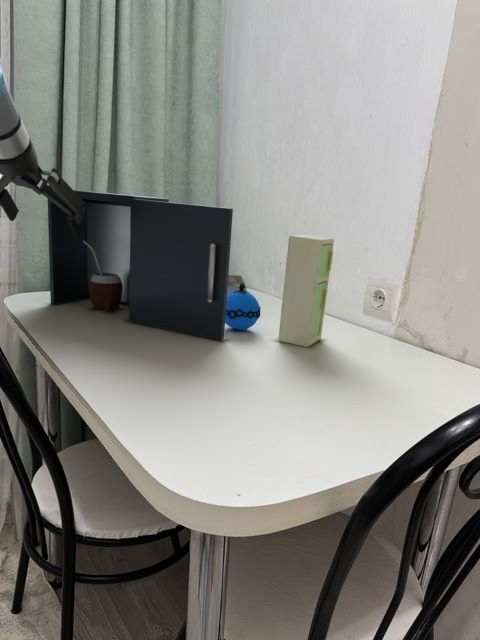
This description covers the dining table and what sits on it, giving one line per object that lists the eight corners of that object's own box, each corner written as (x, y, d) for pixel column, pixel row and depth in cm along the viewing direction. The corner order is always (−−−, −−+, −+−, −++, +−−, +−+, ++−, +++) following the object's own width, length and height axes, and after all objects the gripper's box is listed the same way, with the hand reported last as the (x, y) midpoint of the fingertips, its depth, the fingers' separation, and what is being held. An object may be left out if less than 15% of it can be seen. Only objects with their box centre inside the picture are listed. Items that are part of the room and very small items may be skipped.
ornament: (228, 322, 113) (231, 278, 111) (264, 328, 111) (268, 283, 108) (211, 330, 106) (214, 283, 103) (250, 337, 103) (254, 288, 100)
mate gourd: (125, 312, 114) (125, 245, 110) (88, 313, 111) (88, 243, 106) (117, 305, 120) (118, 241, 116) (83, 306, 117) (82, 240, 113)
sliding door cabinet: (40, 305, 113) (36, 187, 106) (87, 297, 126) (86, 191, 119) (217, 343, 97) (226, 205, 90) (249, 328, 110) (260, 207, 103)
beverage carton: (214, 309, 125) (215, 283, 124) (212, 295, 144) (214, 272, 142) (246, 311, 127) (248, 285, 125) (240, 297, 145) (242, 274, 143)
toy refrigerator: (311, 348, 99) (324, 239, 93) (277, 341, 102) (288, 235, 96) (324, 340, 106) (337, 238, 100) (292, 333, 109) (303, 234, 103)
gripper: (87, 145, 85) (111, 223, 105) (-55, 110, 86) (-5, 195, 105) (70, 179, 82) (98, 253, 102) (-77, 142, 83) (-21, 223, 102)
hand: (46, 223), depth 103 cm, fingers open, 13 cm apart
